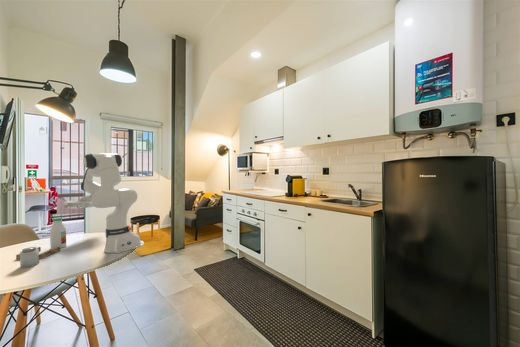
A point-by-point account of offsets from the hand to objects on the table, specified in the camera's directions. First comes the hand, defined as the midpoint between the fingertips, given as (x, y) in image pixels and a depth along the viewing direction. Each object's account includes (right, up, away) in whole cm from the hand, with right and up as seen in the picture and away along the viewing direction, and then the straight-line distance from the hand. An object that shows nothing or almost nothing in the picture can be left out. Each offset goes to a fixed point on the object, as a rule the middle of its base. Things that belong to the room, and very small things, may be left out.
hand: (70, 206), depth 153 cm
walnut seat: (0, -26, -22) cm, 34 cm away
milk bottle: (+1, -26, -10) cm, 28 cm away
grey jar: (+10, -27, -36) cm, 46 cm away
